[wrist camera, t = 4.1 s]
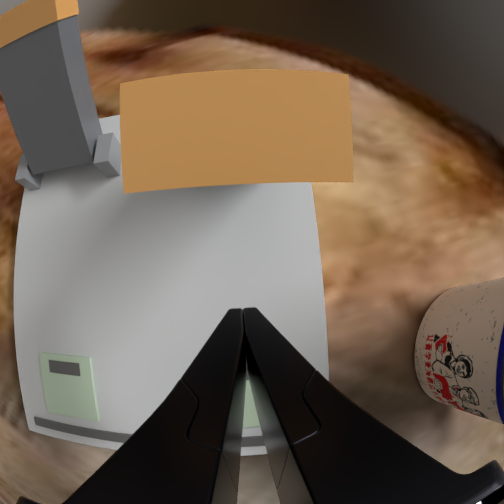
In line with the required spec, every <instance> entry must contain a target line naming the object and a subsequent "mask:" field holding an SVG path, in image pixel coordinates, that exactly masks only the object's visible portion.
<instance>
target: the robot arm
mask: <svg viewBox="0 0 504 504" xmlns="http://www.w3.org/2000/svg"><path fill="white" fill-rule="evenodd" d="M246 364H247V367H246ZM247 372H248V378H249V382H250V386H251V390H252V394H253V399H254V403H255V407H256V411H257V415H258V419H259V423H260V427H261V431H262V435H263V439H264V443H265V447H266V451H267V454H268V458H269V462H270V466H271V470H272V473H273V477H274V481H275V485H276V488H277V492H278V496H279V500H280V504H504V471H503V469H502V467H501V466H500V465H499V463H498V462H497V461H496V460H493V461H491V462H489V463H488V464H486V465H485V466H483V467H481V468H480V469H478V470H476V471H475V472H473V473H470V474H458V473H456V472H454V471H452V470H450V469H449V468H447V467H446V466H444V465H443V464H441V463H440V462H438V461H437V460H435V459H433V458H432V457H430V456H429V455H427V454H426V453H424V452H423V451H421V450H420V449H419V448H417V447H416V446H414V445H413V444H411V443H410V442H408V441H407V440H405V439H404V438H402V437H401V436H400V435H398V434H397V433H395V432H394V431H392V430H391V429H390V428H388V427H387V426H385V425H384V424H383V423H381V422H380V421H378V420H377V419H376V418H374V417H373V416H372V415H370V414H369V413H367V412H366V411H365V410H363V409H362V408H361V407H359V406H358V405H357V404H355V403H354V402H353V401H351V400H350V399H349V398H348V397H346V396H345V395H344V394H343V393H341V392H340V391H339V390H338V389H336V388H335V387H334V386H333V385H332V384H331V383H330V382H329V381H328V380H327V379H326V378H325V377H324V376H323V375H322V374H321V373H320V372H319V371H318V370H316V369H315V368H314V367H313V366H312V365H311V364H310V363H309V362H308V361H307V360H306V359H305V358H304V357H303V356H302V355H301V353H300V352H299V351H298V350H297V349H296V348H295V347H294V346H293V345H292V344H291V343H290V342H289V341H288V340H287V339H286V338H285V337H284V336H283V335H282V334H281V333H280V332H279V331H278V330H277V329H276V328H275V327H274V326H273V324H272V323H271V322H270V321H269V320H268V319H267V318H266V317H265V316H264V315H263V314H262V313H261V312H260V311H259V310H258V309H257V308H256V307H248V308H243V310H242V308H231V309H229V310H228V311H227V312H226V314H225V315H224V317H223V318H222V320H221V321H220V323H219V324H218V325H217V327H216V328H215V330H214V331H213V333H212V334H211V336H210V337H209V338H208V340H207V341H206V343H205V344H204V346H203V347H202V348H201V350H200V351H199V353H198V354H197V356H196V357H195V358H194V360H193V361H192V363H191V364H190V366H189V367H188V368H187V370H186V371H185V373H184V374H183V376H182V377H181V379H180V380H179V381H178V382H177V383H176V385H175V386H174V388H173V389H172V390H171V392H170V393H169V394H168V396H167V397H166V398H165V400H164V401H163V402H162V403H161V404H160V405H159V407H158V408H157V409H156V410H155V411H154V412H153V413H152V414H151V416H150V417H149V418H148V419H147V420H146V421H145V422H144V423H143V424H142V425H141V426H140V427H139V428H138V429H137V430H136V431H135V432H134V433H133V434H132V435H131V436H130V437H129V438H128V439H127V440H126V442H125V443H124V444H123V445H122V446H121V447H120V448H119V449H118V450H117V451H116V452H115V453H114V454H113V455H112V456H111V457H110V458H109V459H108V460H107V461H106V462H105V463H104V464H103V465H102V466H101V467H100V468H99V469H98V470H97V471H96V472H95V473H94V474H93V475H92V476H91V477H90V478H89V479H88V480H87V481H86V482H85V483H84V484H82V485H81V486H80V487H79V488H78V489H77V490H76V491H75V492H74V493H73V494H72V495H71V496H70V497H69V498H68V499H67V500H66V501H65V502H63V503H62V504H237V495H238V494H237V492H238V482H239V469H240V456H241V443H242V430H243V417H244V404H245V391H246V376H247ZM16 504H40V503H37V502H35V501H32V500H30V499H28V498H26V497H23V496H21V497H19V499H18V501H17V503H16Z"/></svg>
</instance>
